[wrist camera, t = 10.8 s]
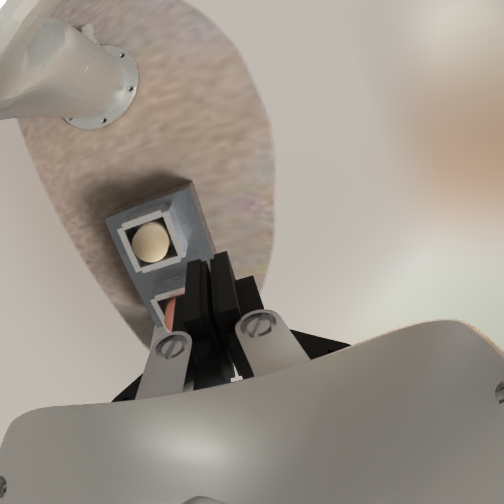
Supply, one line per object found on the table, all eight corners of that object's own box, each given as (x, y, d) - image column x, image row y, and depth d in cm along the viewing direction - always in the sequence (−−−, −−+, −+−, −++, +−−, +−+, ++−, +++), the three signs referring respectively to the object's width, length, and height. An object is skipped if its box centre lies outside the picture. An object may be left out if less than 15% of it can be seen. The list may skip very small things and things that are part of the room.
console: (115, 208, 37) (94, 228, 29) (192, 180, 37) (188, 193, 30) (160, 309, 45) (154, 343, 37) (229, 289, 45) (234, 322, 37)
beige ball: (134, 223, 33) (126, 234, 30) (165, 212, 33) (159, 222, 30) (147, 252, 35) (140, 266, 31) (176, 243, 35) (173, 256, 31)
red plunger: (162, 295, 36) (158, 313, 32) (191, 287, 36) (190, 304, 32) (174, 319, 38) (172, 338, 34) (202, 312, 38) (202, 330, 34)
